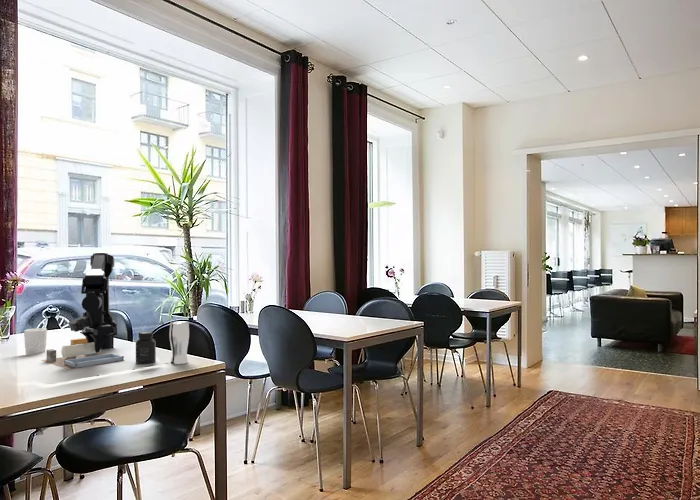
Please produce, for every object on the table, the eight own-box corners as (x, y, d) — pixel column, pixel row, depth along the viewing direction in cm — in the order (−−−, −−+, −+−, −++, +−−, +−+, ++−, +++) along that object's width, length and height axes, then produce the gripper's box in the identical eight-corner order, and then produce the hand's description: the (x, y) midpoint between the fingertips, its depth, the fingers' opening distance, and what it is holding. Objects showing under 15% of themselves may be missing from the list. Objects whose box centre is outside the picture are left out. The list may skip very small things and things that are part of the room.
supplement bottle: (159, 363, 194) (159, 331, 194) (146, 367, 188) (147, 334, 188) (144, 362, 196) (144, 330, 197) (131, 366, 190) (131, 333, 190)
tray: (111, 357, 201) (111, 353, 201) (123, 360, 196) (123, 356, 196) (64, 364, 188) (64, 360, 188) (75, 368, 182) (75, 363, 182)
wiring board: (95, 354, 211) (95, 342, 211) (125, 363, 196) (125, 349, 196) (40, 362, 195) (40, 349, 195) (68, 372, 180) (68, 357, 180)
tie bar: (95, 342, 208) (95, 336, 208) (99, 343, 206) (99, 337, 206) (69, 346, 201) (69, 339, 201) (73, 347, 199) (73, 340, 199)
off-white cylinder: (66, 358, 182) (66, 346, 182) (61, 356, 185) (61, 345, 185) (101, 353, 192) (101, 342, 192) (96, 351, 194) (96, 341, 194)
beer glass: (172, 361, 199) (172, 321, 199) (190, 360, 200) (191, 321, 200) (167, 365, 192) (167, 323, 192) (186, 364, 193) (186, 323, 193)
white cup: (36, 356, 207) (36, 331, 207) (19, 356, 208) (19, 330, 208) (51, 353, 214) (51, 328, 214) (34, 352, 216) (34, 327, 216)
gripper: (60, 308, 192) (60, 351, 192) (83, 312, 180) (83, 358, 180) (91, 306, 200) (91, 347, 200) (115, 309, 188) (115, 353, 188)
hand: (94, 351), depth 192 cm, fingers closed on off-white cylinder, 4 cm apart
